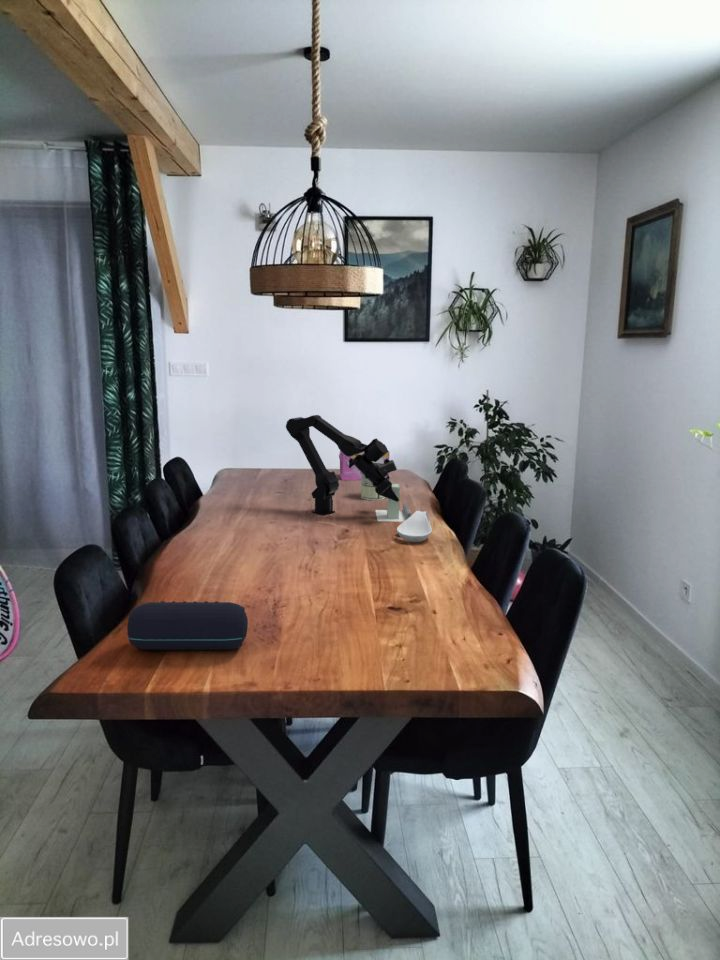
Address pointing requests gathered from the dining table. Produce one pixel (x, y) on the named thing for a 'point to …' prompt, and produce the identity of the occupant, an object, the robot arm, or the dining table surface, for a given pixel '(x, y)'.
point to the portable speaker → (187, 626)
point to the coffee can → (369, 489)
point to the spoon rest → (415, 527)
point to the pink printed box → (354, 467)
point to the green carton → (393, 504)
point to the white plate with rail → (403, 516)
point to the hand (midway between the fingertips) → (397, 497)
